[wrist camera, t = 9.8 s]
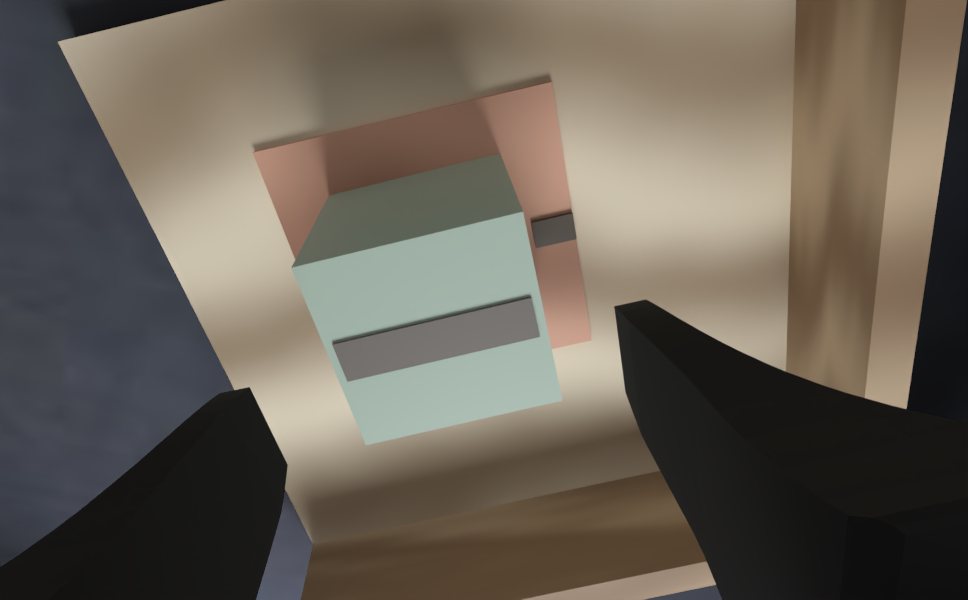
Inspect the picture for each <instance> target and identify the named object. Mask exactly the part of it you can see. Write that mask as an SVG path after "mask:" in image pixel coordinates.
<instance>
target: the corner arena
mask: <svg viewBox="0 0 968 600" xmlns="http://www.w3.org/2000/svg"><path fill="white" fill-rule="evenodd" d="M966 3H967V0H225V1H221V2H217V3H213V4H209V5H204V6H200V7H196V8H192V9H188V10H184V11H180V12H176V13H172V14H168V15H164V16H160V17H156V18H152V19H148V20H144V21H140V22H136V23H132V24H128V25H123V26H119V27H115V28H111V29H107V30H103V31H99V32H95V33H91V34H87V35H83V36H79V37H75V38H71V39H67V40H63V41H59V42H58V43H59V45H60V47H61V49H62V51H63V53H64V55H65V57H66V59H67V61H68V63H69V65H70V67H71V69H72V71H73V73H74V75H75V77H76V79H77V81H78V83H79V85H80V86H81V88H82V90H83V92H84V94H85V96H86V98H87V100H88V102H89V104H90V106H91V108H92V110H93V112H94V114H95V116H96V118H97V120H98V122H99V124H100V126H101V128H102V130H103V132H104V134H105V136H106V138H107V140H108V142H109V144H110V146H111V147H112V149H113V151H114V153H115V155H116V157H117V159H118V161H119V163H120V165H121V167H122V169H123V171H124V173H125V175H126V177H127V179H128V181H129V183H130V185H131V187H132V189H133V191H134V193H135V195H136V197H137V199H138V201H139V203H140V205H141V206H142V208H143V210H144V212H145V214H146V216H147V218H148V220H149V222H150V224H151V226H152V228H153V230H154V232H155V234H156V236H157V238H158V240H159V242H160V244H161V246H162V248H163V250H164V252H165V254H166V256H167V258H168V260H169V262H170V264H171V266H172V267H173V269H174V271H175V273H176V275H177V277H178V279H179V281H180V283H181V285H182V287H183V289H184V291H185V293H186V295H187V297H188V299H189V301H190V303H191V305H192V307H193V309H194V311H195V313H196V315H197V317H198V319H199V321H200V323H201V325H202V327H203V328H204V330H205V332H206V334H207V336H208V338H209V340H210V342H211V344H212V346H213V348H214V350H215V352H216V354H217V356H218V358H219V360H220V362H221V364H222V366H223V368H224V370H225V372H226V374H227V376H228V378H229V380H230V382H231V384H232V386H233V387H234V389H235V390H238V389H243V388H247V387H250V389H251V391H252V393H253V395H254V397H255V399H256V401H257V403H258V405H259V407H260V409H261V411H262V413H263V415H264V417H265V420H266V422H267V424H268V426H269V428H270V430H271V432H272V434H273V436H274V438H275V440H276V442H277V444H278V446H279V448H280V450H281V452H282V454H283V456H284V458H285V460H286V462H287V464H288V467H287V476H286V484H285V490H286V492H287V494H288V496H289V498H290V500H291V502H292V504H293V506H294V507H295V509H296V511H297V513H298V515H299V517H300V519H301V521H302V523H303V525H304V527H305V529H306V531H307V533H308V535H309V537H310V539H311V541H312V543H313V548H312V552H311V557H310V561H309V566H308V570H307V575H306V579H305V584H304V588H303V593H302V597H301V600H643V599H648V598H653V597H658V596H663V595H668V594H672V593H677V592H682V591H687V590H692V589H697V588H702V587H707V586H712V585H716V583H715V580H714V578H713V576H712V573H711V571H710V568H709V566H708V563H707V561H706V559H705V556H704V554H703V552H702V550H701V548H700V546H699V544H698V541H697V539H696V537H695V535H694V533H693V531H692V529H691V527H690V526H689V524H688V522H687V520H686V518H685V516H684V514H683V512H682V511H681V509H680V507H679V505H678V503H677V501H676V499H675V498H674V496H673V494H672V492H671V490H670V488H669V486H668V484H667V483H666V481H665V479H664V477H663V475H662V473H661V471H660V470H659V468H658V466H657V464H656V462H655V460H654V458H653V456H652V454H651V453H650V451H649V449H648V447H647V445H646V443H645V441H644V439H643V437H642V435H641V433H640V430H639V427H638V425H637V422H636V420H635V417H634V414H633V412H632V409H631V406H630V404H629V401H628V398H627V395H626V393H625V385H624V378H623V370H622V362H621V355H620V347H619V339H618V331H617V324H616V316H615V308H614V306H618V305H623V304H627V303H632V302H636V301H641V300H645V299H646V300H648V301H650V302H652V303H654V304H655V305H657V306H659V307H661V308H662V309H664V310H666V311H667V312H669V313H671V314H672V315H674V316H676V317H677V318H679V319H681V320H683V321H684V322H686V323H688V324H689V325H691V326H693V327H695V328H697V329H698V330H700V331H702V332H704V333H706V334H707V335H709V336H711V337H713V338H715V339H717V340H719V341H720V342H722V343H724V344H726V345H728V346H730V347H732V348H734V349H736V350H738V351H740V352H743V353H745V354H747V355H749V356H751V357H753V358H756V359H758V360H760V361H762V362H764V363H766V364H769V365H771V366H774V367H776V368H778V369H781V370H783V371H786V372H788V373H791V374H794V375H796V376H799V377H802V378H805V379H807V380H810V381H813V382H815V383H818V384H821V385H824V386H827V387H830V388H833V389H836V390H839V391H842V392H845V393H849V394H852V395H856V396H859V397H863V398H866V399H870V400H874V401H877V402H881V403H884V404H888V405H891V406H895V407H900V408H904V409H907V402H908V396H909V389H910V382H911V375H912V369H913V362H914V355H915V348H916V341H917V335H918V328H919V321H920V314H921V308H922V301H923V294H924V287H925V281H926V274H927V267H928V260H929V253H930V247H931V240H932V233H933V226H934V220H935V213H936V206H937V199H938V193H939V186H940V179H941V172H942V165H943V159H944V152H945V145H946V138H947V132H948V125H949V118H950V111H951V105H952V98H953V91H954V84H955V77H956V71H957V64H958V57H959V50H960V44H961V37H962V30H963V23H964V17H965V10H966ZM499 153H500V154H501V156H502V159H503V162H504V164H505V167H506V169H507V172H508V174H509V177H510V179H511V182H512V185H513V187H514V190H515V192H516V195H517V197H518V200H519V203H520V205H521V208H522V210H523V214H524V219H525V223H526V228H527V233H528V238H529V243H530V247H531V252H532V257H533V262H534V267H535V271H536V276H537V281H538V286H539V291H540V295H541V300H542V305H543V310H544V315H545V319H546V324H547V329H548V334H549V339H550V343H551V348H552V353H553V358H554V363H555V367H556V372H557V377H558V382H559V387H560V391H561V396H562V401H558V402H554V403H549V404H545V405H540V406H536V407H532V408H527V409H523V410H519V411H514V412H510V413H505V414H501V415H497V416H492V417H488V418H483V419H479V420H475V421H470V422H466V423H462V424H457V425H453V426H448V427H444V428H440V429H435V430H431V431H427V432H422V433H418V434H413V435H409V436H405V437H400V438H396V439H391V440H387V441H383V442H378V443H374V444H370V445H366V444H365V442H364V440H363V437H362V435H361V433H360V430H359V428H358V425H357V423H356V421H355V418H354V416H353V414H352V411H351V409H350V406H349V404H348V402H347V399H346V397H345V395H344V392H343V390H342V387H341V385H340V383H339V380H338V378H337V375H336V373H335V371H334V368H333V366H332V364H331V361H330V359H329V356H328V354H327V352H326V349H325V347H324V345H323V342H322V340H321V337H320V335H319V333H318V330H317V328H316V326H315V323H314V321H313V318H312V316H311V314H310V311H309V309H308V307H307V304H306V302H305V299H304V297H303V295H302V292H301V290H300V287H299V285H298V283H297V280H296V278H295V276H294V273H293V271H292V268H291V267H292V265H293V263H294V262H295V260H296V258H297V256H298V254H299V252H300V250H301V248H302V246H303V244H304V242H305V240H306V238H307V237H308V235H309V233H310V231H311V229H312V227H313V225H314V223H315V221H316V219H317V217H318V215H319V214H320V212H321V210H322V208H323V206H324V204H325V202H326V200H327V198H328V196H329V195H333V194H337V193H341V192H345V191H349V190H353V189H357V188H361V187H365V186H369V185H373V184H377V183H381V182H385V181H389V180H394V179H398V178H402V177H406V176H410V175H414V174H418V173H422V172H426V171H430V170H434V169H438V168H442V167H446V166H450V165H454V164H458V163H462V162H466V161H471V160H475V159H479V158H483V157H487V156H491V155H495V154H499Z"/></svg>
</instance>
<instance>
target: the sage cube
mask: <svg viewBox="0 0 968 600" xmlns="http://www.w3.org/2000/svg"><path fill="white" fill-rule="evenodd" d="M291 268H292V271H293V273H294V276H295V278H296V280H297V283H298V285H299V287H300V290H301V292H302V295H303V297H304V299H305V302H306V304H307V307H308V309H309V311H310V314H311V316H312V318H313V321H314V323H315V326H316V328H317V330H318V333H319V335H320V337H321V340H322V342H323V345H324V347H325V349H326V352H327V354H328V356H329V359H330V361H331V364H332V366H333V368H334V371H335V373H336V375H337V378H338V380H339V383H340V385H341V387H342V390H343V392H344V395H345V397H346V399H347V402H348V404H349V406H350V409H351V411H352V414H353V416H354V418H355V421H356V423H357V425H358V428H359V430H360V433H361V435H362V437H363V440H364V442H365V444H366V445H370V444H374V443H378V442H383V441H387V440H391V439H396V438H400V437H405V436H409V435H413V434H418V433H422V432H427V431H431V430H435V429H440V428H444V427H448V426H453V425H457V424H462V423H466V422H470V421H475V420H479V419H483V418H488V417H492V416H497V415H501V414H505V413H510V412H514V411H519V410H523V409H527V408H532V407H536V406H540V405H545V404H549V403H554V402H558V401H562V396H561V391H560V387H559V382H558V377H557V372H556V367H555V363H554V358H553V353H552V348H551V343H550V339H549V334H548V329H547V324H546V319H545V315H544V310H543V305H542V300H541V295H540V291H539V286H538V281H537V276H536V271H535V267H534V262H533V257H532V252H531V247H530V243H529V238H528V233H527V228H526V223H525V219H524V214H523V210H522V208H521V205H520V203H519V200H518V197H517V195H516V192H515V190H514V187H513V185H512V182H511V179H510V177H509V174H508V172H507V169H506V167H505V164H504V162H503V159H502V156H501V154H500V153H499V154H495V155H491V156H487V157H483V158H479V159H475V160H471V161H466V162H462V163H458V164H454V165H450V166H446V167H442V168H438V169H434V170H430V171H426V172H422V173H418V174H414V175H410V176H406V177H402V178H398V179H394V180H389V181H385V182H381V183H377V184H373V185H369V186H365V187H361V188H357V189H353V190H349V191H345V192H341V193H337V194H333V195H329V196H328V198H327V200H326V202H325V204H324V206H323V208H322V210H321V212H320V214H319V215H318V217H317V219H316V221H315V223H314V225H313V227H312V229H311V231H310V233H309V235H308V237H307V238H306V240H305V242H304V244H303V246H302V248H301V250H300V252H299V254H298V256H297V258H296V260H295V262H294V263H293V265H292V267H291Z"/></svg>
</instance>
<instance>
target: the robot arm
mask: <svg viewBox="0 0 968 600" xmlns="http://www.w3.org/2000/svg"><path fill="white" fill-rule="evenodd" d="M614 308H615V316H616V324H617V331H618V339H619V347H620V355H621V362H622V370H623V378H624V385H625V393H626V395H627V398H628V401H629V404H630V406H631V409H632V412H633V414H634V417H635V420H636V422H637V425H638V427H639V430H640V433H641V435H642V437H643V439H644V441H645V443H646V445H647V447H648V449H649V451H650V453H651V454H652V456H653V458H654V460H655V462H656V464H657V466H658V468H659V470H660V471H661V473H662V475H663V477H664V479H665V481H666V483H667V484H668V486H669V488H670V490H671V492H672V494H673V496H674V498H675V499H676V501H677V503H678V505H679V507H680V509H681V511H682V512H683V514H684V516H685V518H686V520H687V522H688V524H689V526H690V527H691V529H692V531H693V533H694V535H695V537H696V539H697V541H698V544H699V546H700V548H701V550H702V552H703V554H704V556H705V559H706V561H707V563H708V566H709V568H710V571H711V573H712V576H713V578H714V580H715V583H716V585H717V588H718V590H719V593H720V595H721V597H722V600H968V422H963V421H958V420H954V419H949V418H944V417H939V416H934V415H929V414H925V413H920V412H916V411H912V410H908V409H904V408H900V407H895V406H891V405H888V404H884V403H881V402H877V401H874V400H870V399H866V398H863V397H859V396H856V395H852V394H849V393H845V392H842V391H839V390H836V389H833V388H830V387H827V386H824V385H821V384H818V383H815V382H813V381H810V380H807V379H805V378H802V377H799V376H796V375H794V374H791V373H788V372H786V371H783V370H781V369H778V368H776V367H774V366H771V365H769V364H766V363H764V362H762V361H760V360H758V359H756V358H753V357H751V356H749V355H747V354H745V353H743V352H740V351H738V350H736V349H734V348H732V347H730V346H728V345H726V344H724V343H722V342H720V341H719V340H717V339H715V338H713V337H711V336H709V335H707V334H706V333H704V332H702V331H700V330H698V329H697V328H695V327H693V326H691V325H689V324H688V323H686V322H684V321H683V320H681V319H679V318H677V317H676V316H674V315H672V314H671V313H669V312H667V311H666V310H664V309H662V308H661V307H659V306H657V305H655V304H654V303H652V302H650V301H648V300H646V299H645V300H641V301H636V302H632V303H627V304H623V305H618V306H614ZM287 467H288V464H287V462H286V460H285V458H284V456H283V454H282V452H281V450H280V448H279V446H278V444H277V442H276V440H275V438H274V436H273V434H272V432H271V430H270V428H269V426H268V424H267V422H266V420H265V417H264V415H263V413H262V411H261V409H260V407H259V405H258V403H257V401H256V399H255V397H254V395H253V393H252V391H251V389H250V387H247V388H243V389H238V390H234V391H229V392H225V393H220V394H218V395H217V396H215V397H214V398H213V399H211V400H210V401H209V402H207V403H206V404H205V405H203V406H202V407H201V408H200V409H199V410H197V411H196V412H195V413H194V414H193V415H191V416H190V417H189V418H188V419H187V420H186V421H184V422H183V423H182V424H181V425H180V426H179V427H178V428H176V429H175V430H174V431H173V432H172V433H171V434H170V435H169V436H167V437H166V438H165V439H164V440H163V441H162V442H161V443H159V444H158V445H157V446H156V447H155V448H154V449H153V450H151V451H150V452H149V453H148V454H147V455H146V456H145V457H144V458H142V459H141V460H140V461H139V462H138V463H137V464H136V465H134V466H133V467H132V468H131V469H130V470H128V471H127V472H126V473H125V474H124V475H122V476H121V477H120V478H119V479H118V480H116V481H115V482H114V483H113V484H112V485H110V486H109V487H108V488H107V489H105V490H104V491H103V492H102V493H101V494H99V495H98V496H97V497H96V498H95V499H93V500H92V501H91V502H90V503H89V504H87V505H86V506H85V507H84V508H82V509H81V510H80V511H78V512H77V513H76V514H75V515H73V516H72V517H71V518H69V519H68V520H67V521H65V522H64V523H63V524H61V525H60V526H59V527H57V528H56V529H55V530H53V531H52V532H51V533H49V534H48V535H46V536H45V537H44V538H42V539H41V540H39V541H38V542H37V543H35V544H34V545H32V546H31V547H30V548H28V549H27V550H25V551H24V552H23V553H21V554H20V555H18V556H17V557H15V558H14V559H12V560H11V561H9V562H8V563H6V564H5V565H3V566H2V567H0V600H256V597H257V594H258V590H259V587H260V584H261V580H262V577H263V574H264V570H265V567H266V564H267V560H268V557H269V554H270V550H271V547H272V543H273V540H274V536H275V533H276V529H277V526H278V522H279V518H280V515H281V510H282V504H283V498H284V492H285V484H286V476H287Z"/></svg>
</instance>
